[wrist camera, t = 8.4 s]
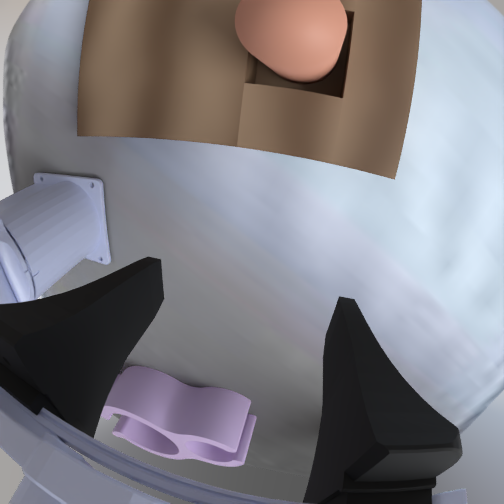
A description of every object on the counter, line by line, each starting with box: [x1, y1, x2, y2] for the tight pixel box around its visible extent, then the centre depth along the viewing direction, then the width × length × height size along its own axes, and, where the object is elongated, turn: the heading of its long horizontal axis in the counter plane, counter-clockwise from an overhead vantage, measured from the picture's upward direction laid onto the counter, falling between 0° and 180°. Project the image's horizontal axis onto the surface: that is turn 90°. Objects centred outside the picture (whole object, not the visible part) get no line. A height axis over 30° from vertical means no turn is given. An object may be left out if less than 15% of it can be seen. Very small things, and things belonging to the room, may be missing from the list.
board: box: [77, 0, 422, 179], centre depth 14 cm, size 20×12×3 cm, turn 84°
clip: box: [101, 366, 257, 467], centre depth 31 cm, size 20×12×7 cm, turn 101°
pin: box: [235, 0, 347, 85], centre depth 11 cm, size 4×4×7 cm
